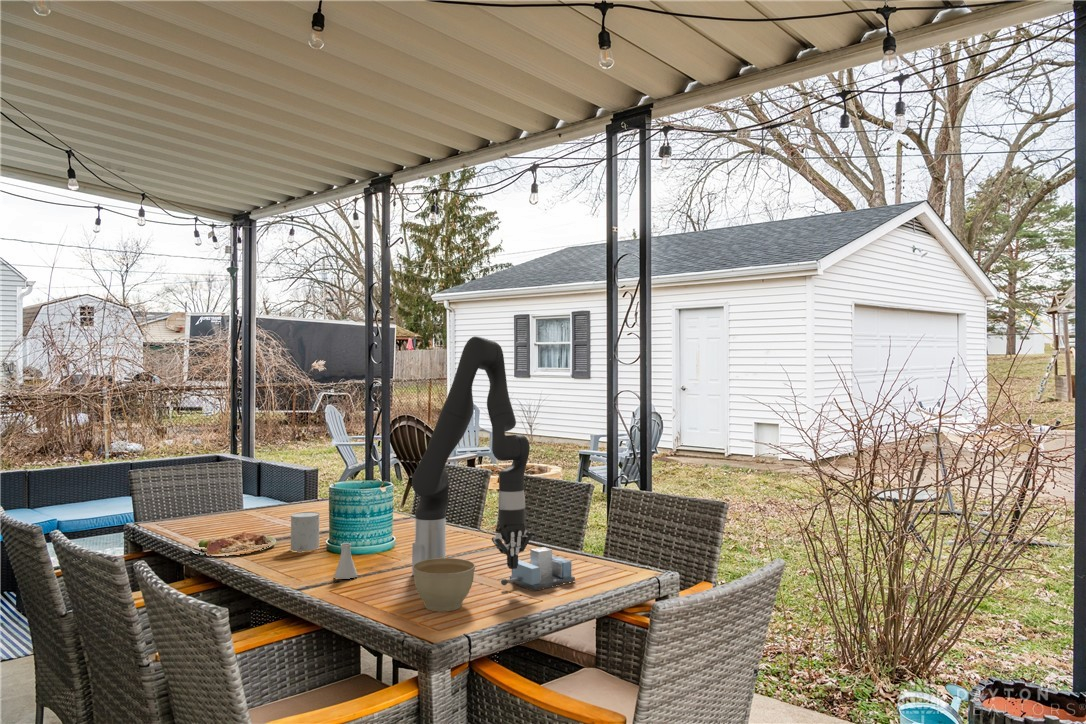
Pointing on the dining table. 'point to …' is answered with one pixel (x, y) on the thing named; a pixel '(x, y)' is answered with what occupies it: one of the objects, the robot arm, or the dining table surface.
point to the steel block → (542, 560)
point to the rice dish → (235, 543)
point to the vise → (559, 575)
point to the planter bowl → (443, 582)
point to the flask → (345, 564)
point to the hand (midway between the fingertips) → (512, 568)
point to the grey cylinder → (304, 531)
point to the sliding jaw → (525, 574)
